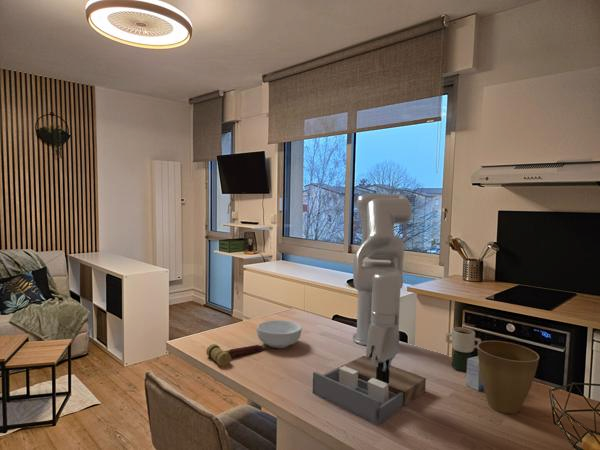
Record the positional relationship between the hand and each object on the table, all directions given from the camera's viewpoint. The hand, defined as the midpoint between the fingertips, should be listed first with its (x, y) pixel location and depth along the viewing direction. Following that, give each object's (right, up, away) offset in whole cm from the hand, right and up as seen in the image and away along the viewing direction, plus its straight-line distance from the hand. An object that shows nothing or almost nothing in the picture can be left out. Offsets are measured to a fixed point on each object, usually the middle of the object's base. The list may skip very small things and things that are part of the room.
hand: (382, 382), depth 108 cm
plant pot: (+33, -6, -1) cm, 34 cm away
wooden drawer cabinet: (+2, -5, +10) cm, 11 cm away
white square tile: (-8, -1, +7) cm, 10 cm away
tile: (-1, -1, -1) cm, 2 cm away
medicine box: (+32, -6, +11) cm, 34 cm away
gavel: (-44, -3, +29) cm, 53 cm away
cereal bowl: (-31, -2, +40) cm, 51 cm away
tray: (-7, -5, 0) cm, 9 cm away
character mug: (+31, -5, +23) cm, 39 cm away
